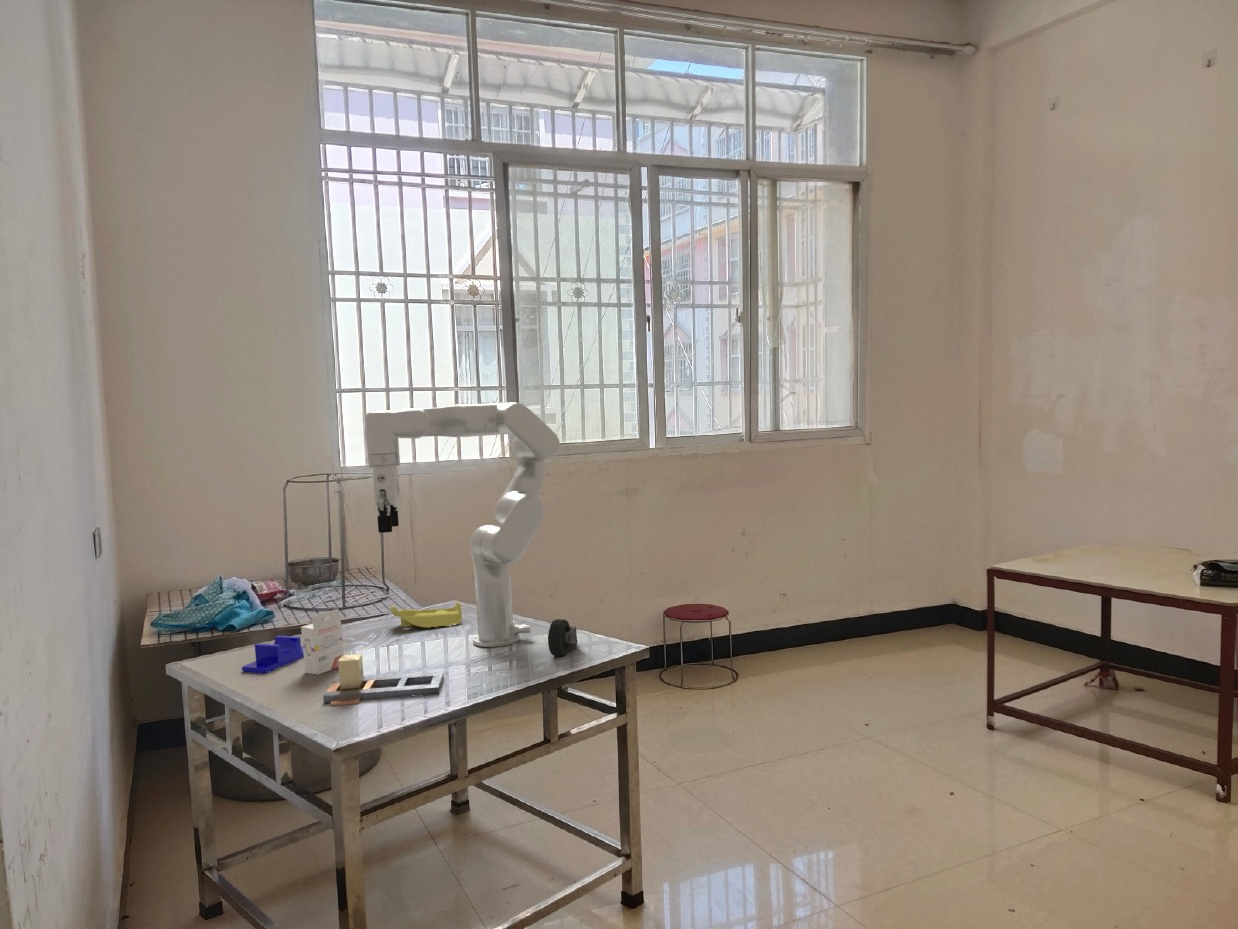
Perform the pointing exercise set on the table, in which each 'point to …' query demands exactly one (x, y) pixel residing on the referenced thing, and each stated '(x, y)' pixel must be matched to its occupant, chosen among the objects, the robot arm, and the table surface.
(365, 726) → the table surface
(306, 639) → the ink cartridge box
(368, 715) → the table surface
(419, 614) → the plastic component
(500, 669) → the table surface
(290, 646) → the mounting bracket
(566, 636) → the caster wheel
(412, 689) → the rail frame
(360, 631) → the table surface
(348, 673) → the brass block
